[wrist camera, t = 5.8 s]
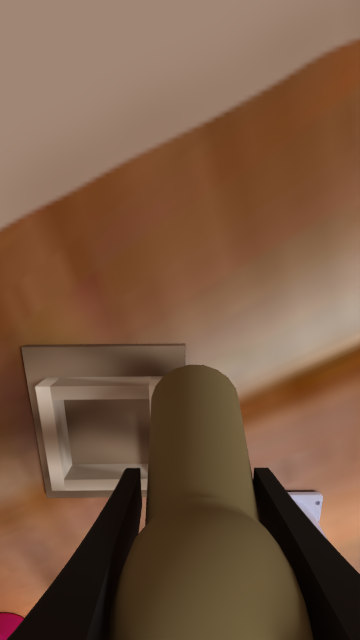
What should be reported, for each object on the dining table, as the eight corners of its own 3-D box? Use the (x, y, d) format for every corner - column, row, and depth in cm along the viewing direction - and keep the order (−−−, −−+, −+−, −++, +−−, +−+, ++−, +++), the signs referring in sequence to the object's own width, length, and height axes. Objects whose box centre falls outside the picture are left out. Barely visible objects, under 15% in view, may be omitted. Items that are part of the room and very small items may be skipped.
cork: (158, 445, 16) (100, 818, 5) (144, 369, 14) (23, 662, 4) (242, 438, 15) (367, 820, 5) (235, 359, 14) (392, 648, 3)
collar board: (185, 490, 23) (186, 513, 20) (50, 491, 23) (36, 515, 20) (185, 343, 19) (185, 352, 17) (26, 344, 19) (6, 354, 17)
